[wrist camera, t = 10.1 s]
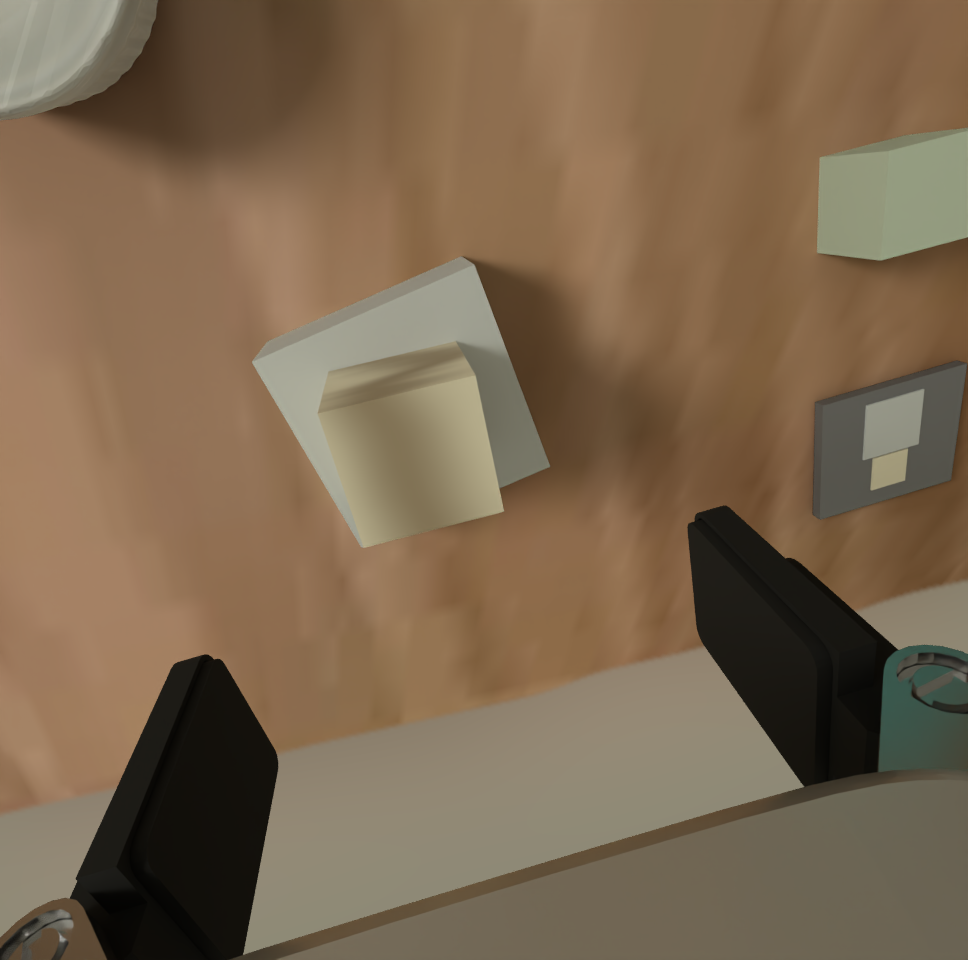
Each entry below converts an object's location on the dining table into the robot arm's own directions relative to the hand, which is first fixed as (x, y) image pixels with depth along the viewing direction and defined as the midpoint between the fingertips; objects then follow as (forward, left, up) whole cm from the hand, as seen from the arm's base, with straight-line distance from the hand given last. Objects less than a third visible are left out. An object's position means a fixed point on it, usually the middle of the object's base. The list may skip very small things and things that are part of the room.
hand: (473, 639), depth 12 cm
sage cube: (-22, -3, -18) cm, 28 cm away
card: (-24, +10, -18) cm, 31 cm away
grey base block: (0, 0, -18) cm, 18 cm away
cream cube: (+1, 0, -14) cm, 14 cm away
